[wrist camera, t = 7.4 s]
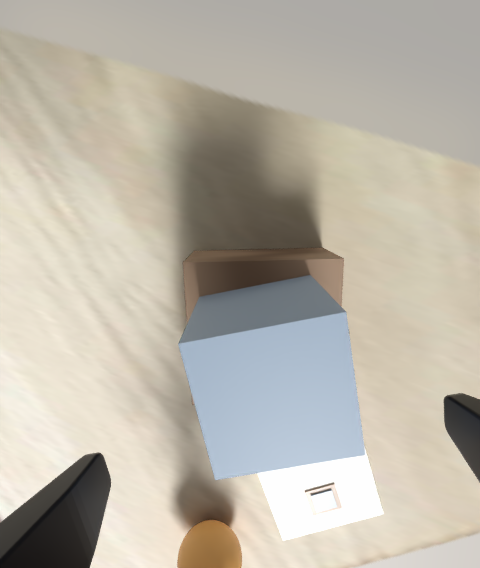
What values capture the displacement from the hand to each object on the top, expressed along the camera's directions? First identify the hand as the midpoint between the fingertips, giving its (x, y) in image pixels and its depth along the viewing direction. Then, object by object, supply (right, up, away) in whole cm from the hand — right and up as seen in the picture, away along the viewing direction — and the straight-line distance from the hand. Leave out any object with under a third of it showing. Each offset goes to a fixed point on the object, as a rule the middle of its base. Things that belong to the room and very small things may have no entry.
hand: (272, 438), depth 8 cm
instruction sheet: (+5, -10, +13) cm, 17 cm away
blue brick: (0, +2, +7) cm, 7 cm away
